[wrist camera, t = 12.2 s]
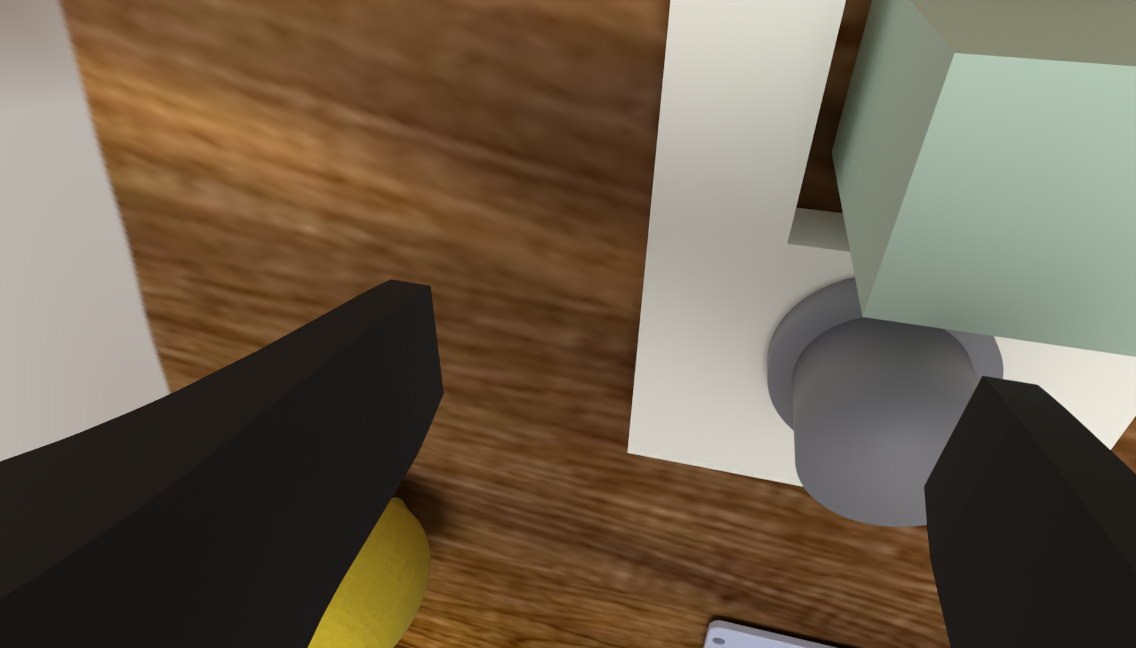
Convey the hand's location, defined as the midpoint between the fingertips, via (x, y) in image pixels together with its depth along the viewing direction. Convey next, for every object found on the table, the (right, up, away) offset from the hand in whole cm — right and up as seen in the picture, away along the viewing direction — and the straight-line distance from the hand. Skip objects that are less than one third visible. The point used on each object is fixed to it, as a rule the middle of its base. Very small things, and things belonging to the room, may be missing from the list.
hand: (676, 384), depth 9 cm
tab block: (+7, +6, +5) cm, 11 cm away
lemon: (-9, -7, +20) cm, 23 cm away
